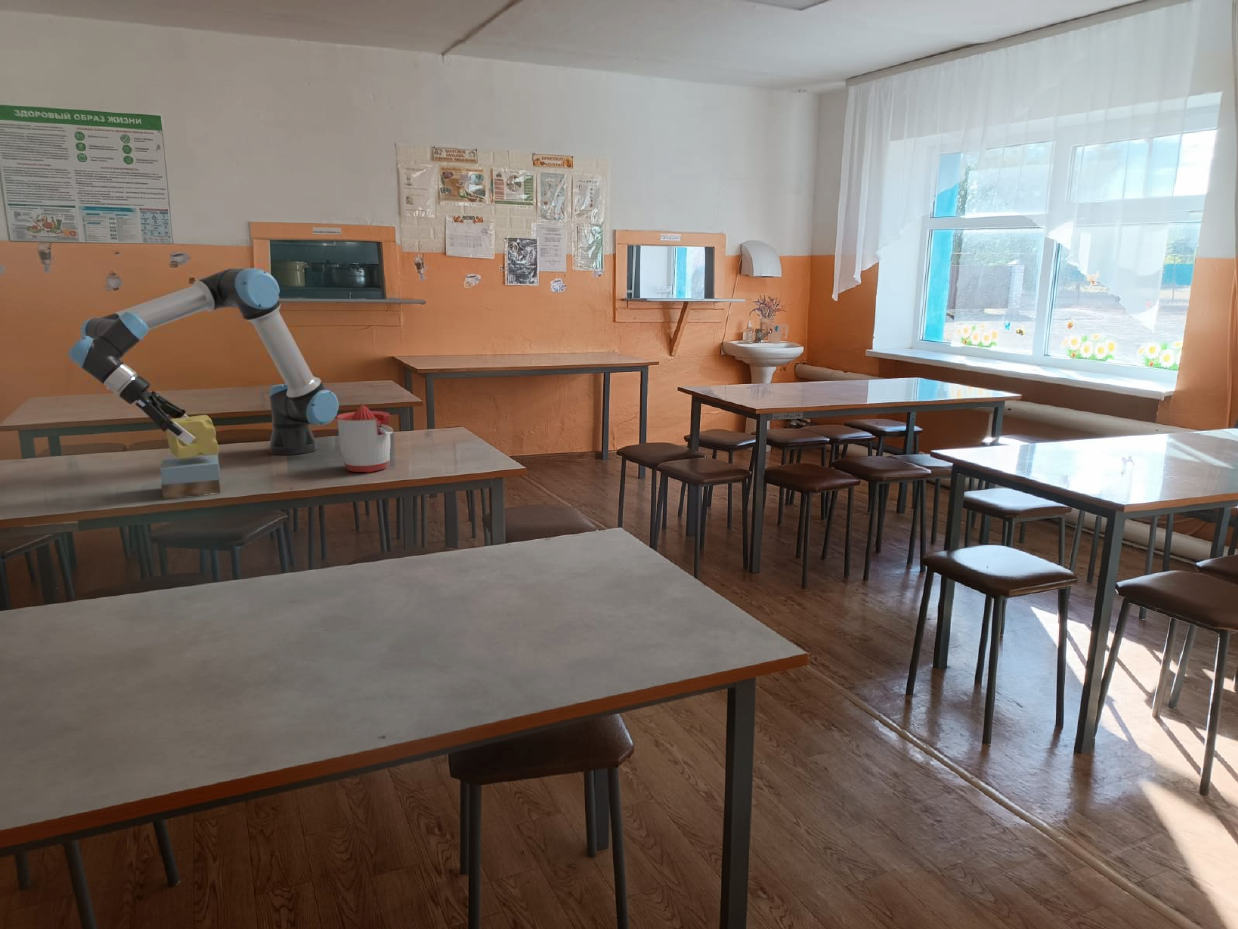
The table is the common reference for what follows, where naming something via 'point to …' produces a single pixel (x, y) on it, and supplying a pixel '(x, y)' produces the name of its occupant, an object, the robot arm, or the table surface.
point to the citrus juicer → (364, 439)
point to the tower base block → (190, 489)
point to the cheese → (203, 436)
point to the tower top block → (190, 469)
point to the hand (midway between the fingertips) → (196, 437)
